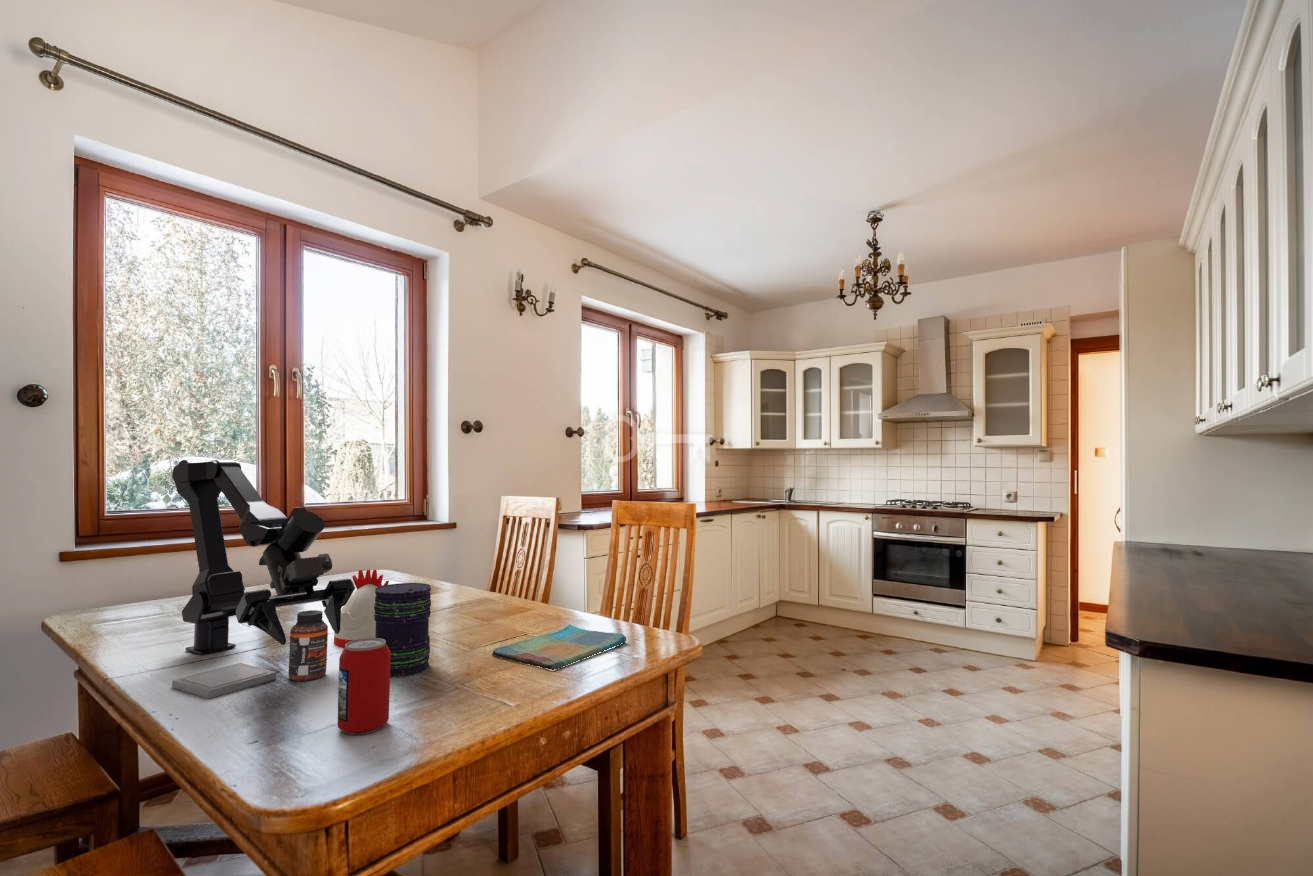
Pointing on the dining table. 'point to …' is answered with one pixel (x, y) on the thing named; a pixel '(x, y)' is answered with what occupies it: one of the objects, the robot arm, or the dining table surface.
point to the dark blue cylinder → (404, 626)
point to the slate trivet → (223, 680)
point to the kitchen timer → (359, 610)
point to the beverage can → (364, 686)
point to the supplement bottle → (308, 646)
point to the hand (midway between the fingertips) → (312, 637)
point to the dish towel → (559, 647)
